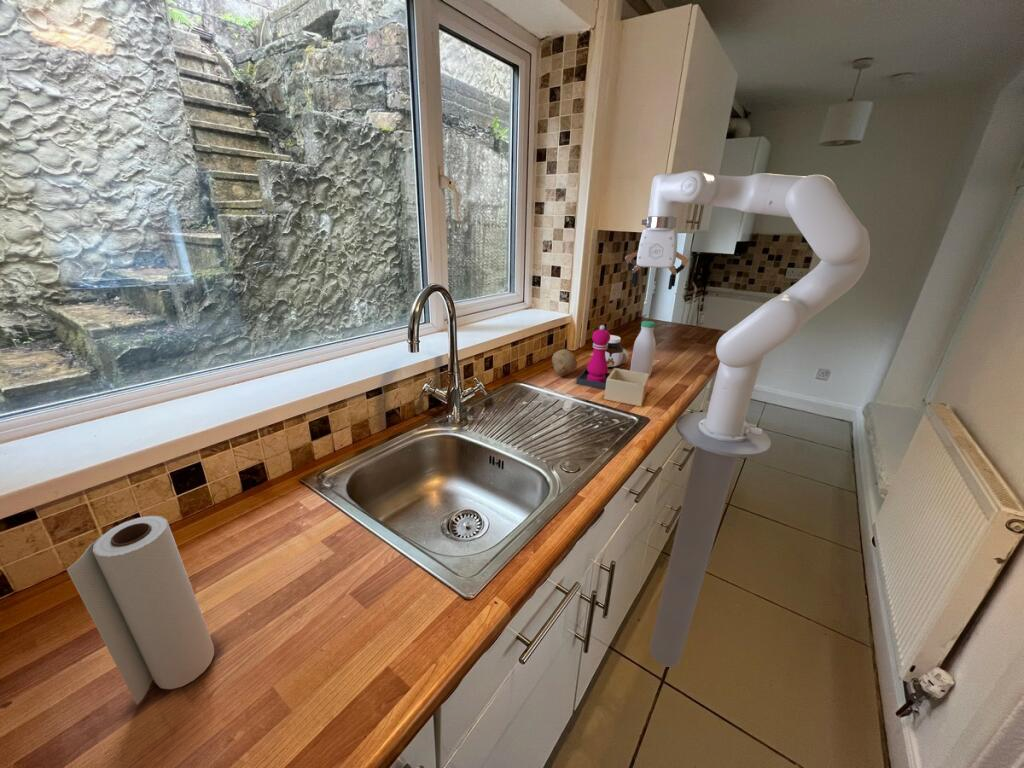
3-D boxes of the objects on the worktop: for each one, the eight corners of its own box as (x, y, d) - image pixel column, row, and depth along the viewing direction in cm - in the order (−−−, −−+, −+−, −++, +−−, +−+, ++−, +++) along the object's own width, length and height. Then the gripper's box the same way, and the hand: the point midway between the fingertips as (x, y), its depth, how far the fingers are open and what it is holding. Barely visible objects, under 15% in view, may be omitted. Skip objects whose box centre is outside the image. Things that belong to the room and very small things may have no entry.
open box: (646, 393, 136) (649, 373, 133) (640, 406, 126) (644, 385, 124) (611, 386, 141) (614, 367, 138) (603, 399, 131) (606, 378, 128)
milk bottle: (652, 378, 149) (661, 325, 141) (630, 376, 150) (638, 323, 142) (649, 371, 156) (658, 320, 148) (628, 369, 157) (636, 318, 149)
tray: (614, 379, 147) (615, 374, 147) (607, 389, 138) (608, 384, 137) (585, 373, 152) (585, 368, 151) (576, 383, 142) (576, 378, 141)
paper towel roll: (217, 634, 55) (172, 507, 47) (212, 676, 50) (160, 542, 42) (150, 659, 52) (88, 527, 44) (137, 706, 47) (65, 567, 39)
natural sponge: (574, 371, 153) (576, 346, 149) (577, 380, 145) (579, 354, 141) (550, 371, 153) (551, 345, 149) (551, 379, 145) (553, 353, 141)
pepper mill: (600, 385, 140) (607, 329, 132) (582, 380, 144) (587, 325, 136) (609, 379, 145) (617, 325, 138) (591, 374, 149) (597, 321, 142)
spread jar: (593, 366, 159) (596, 338, 154) (599, 358, 169) (602, 331, 164) (624, 371, 155) (628, 342, 150) (628, 362, 164) (632, 335, 160)
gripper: (626, 223, 112) (619, 287, 118) (694, 224, 105) (683, 291, 111) (631, 224, 118) (624, 284, 125) (695, 224, 111) (685, 288, 118)
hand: (652, 287), depth 118 cm, fingers open, 9 cm apart
